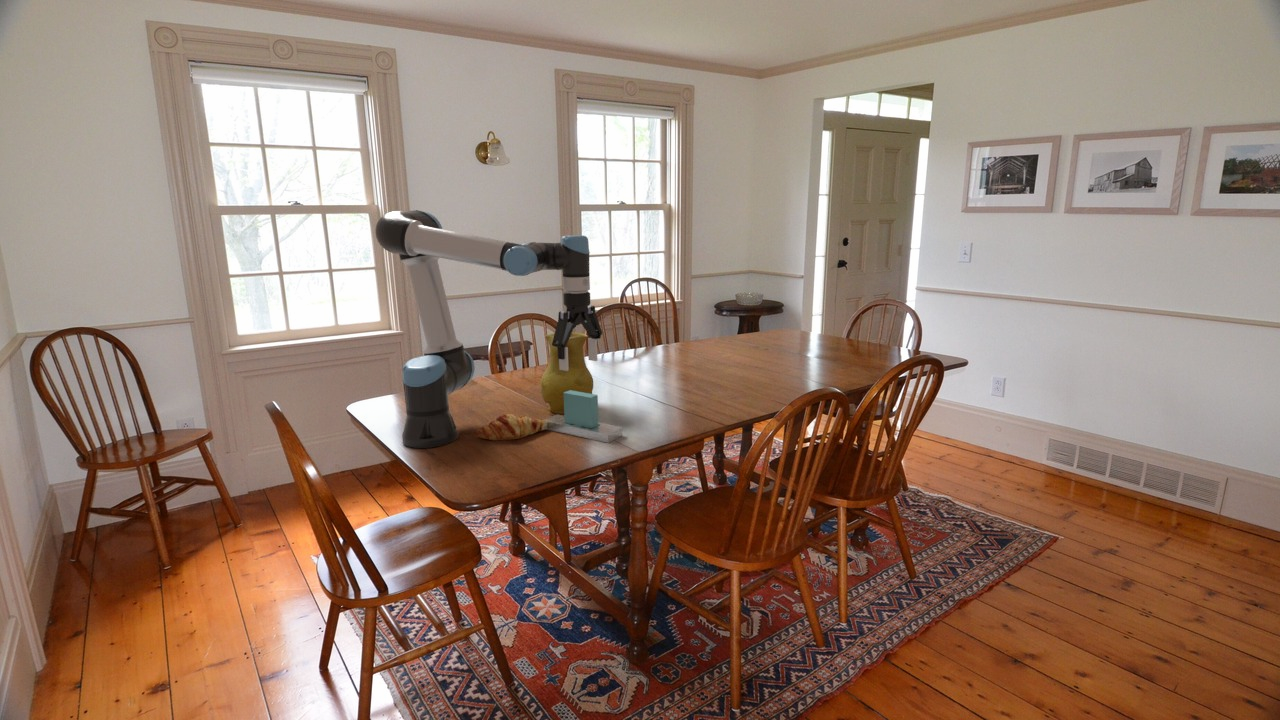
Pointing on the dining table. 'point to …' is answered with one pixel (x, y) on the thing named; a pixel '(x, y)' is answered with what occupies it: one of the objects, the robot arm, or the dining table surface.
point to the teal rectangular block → (581, 409)
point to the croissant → (510, 428)
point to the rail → (584, 429)
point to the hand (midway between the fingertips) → (578, 365)
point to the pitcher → (565, 373)
